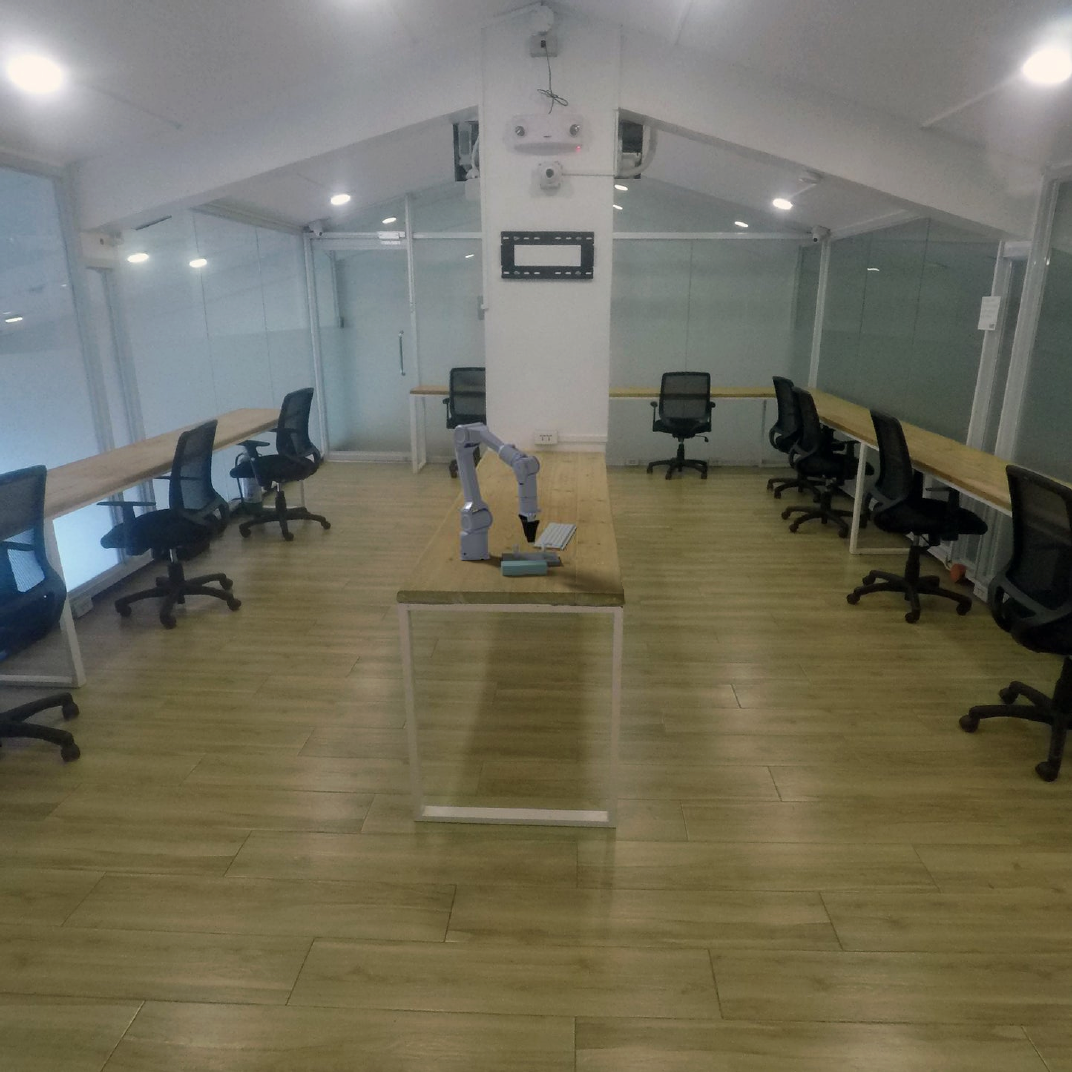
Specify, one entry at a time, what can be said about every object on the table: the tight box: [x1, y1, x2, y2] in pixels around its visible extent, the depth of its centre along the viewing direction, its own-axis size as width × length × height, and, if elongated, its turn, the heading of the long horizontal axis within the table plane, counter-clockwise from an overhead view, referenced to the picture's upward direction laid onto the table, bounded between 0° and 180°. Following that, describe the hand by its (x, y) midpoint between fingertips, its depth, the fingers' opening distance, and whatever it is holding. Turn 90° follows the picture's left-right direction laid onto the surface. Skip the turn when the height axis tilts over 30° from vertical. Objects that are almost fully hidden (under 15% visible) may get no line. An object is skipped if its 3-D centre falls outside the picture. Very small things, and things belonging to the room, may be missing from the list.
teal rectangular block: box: [500, 560, 548, 576], centre depth 235 cm, size 14×4×4 cm, turn 97°
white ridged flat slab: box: [532, 522, 578, 551], centre depth 273 cm, size 31×3×12 cm
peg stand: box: [501, 543, 560, 567], centre depth 245 cm, size 18×10×6 cm, turn 96°
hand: (529, 539), depth 233 cm, fingers open, 7 cm apart
